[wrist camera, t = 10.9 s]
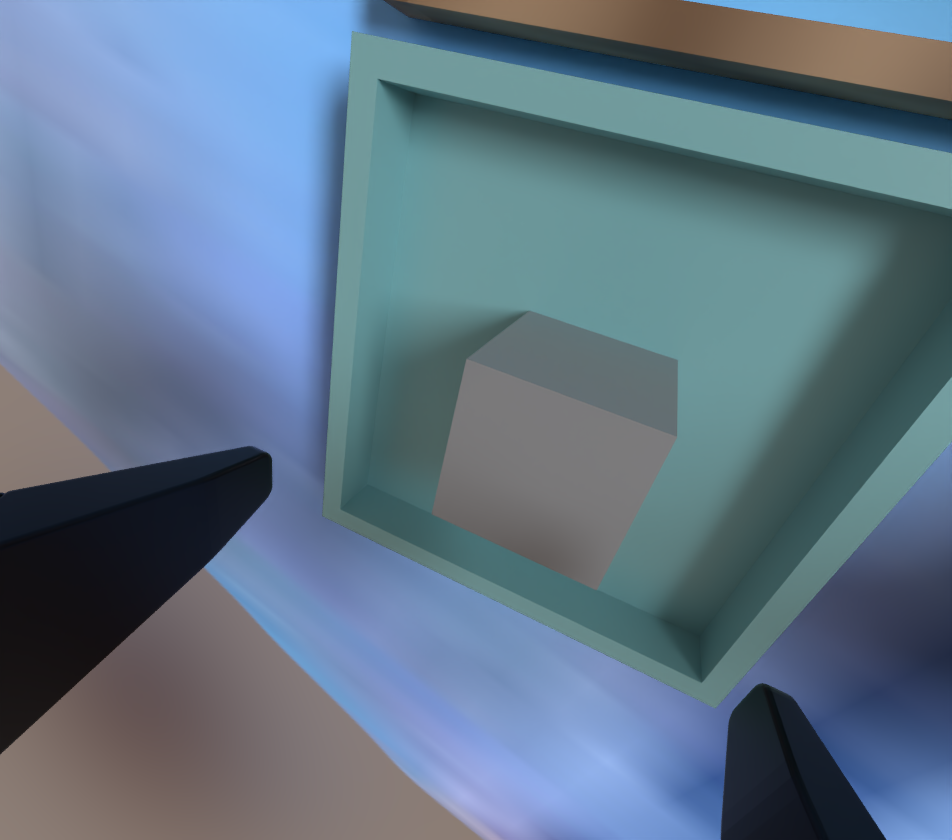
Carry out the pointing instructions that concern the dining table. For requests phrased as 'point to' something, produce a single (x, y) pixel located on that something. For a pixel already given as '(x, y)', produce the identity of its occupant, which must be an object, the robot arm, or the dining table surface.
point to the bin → (641, 334)
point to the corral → (725, 45)
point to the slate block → (557, 443)
